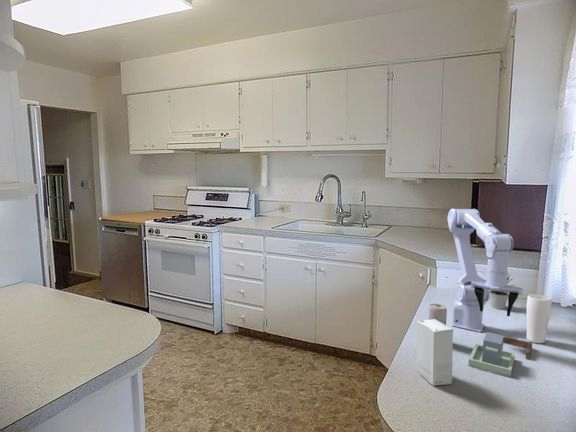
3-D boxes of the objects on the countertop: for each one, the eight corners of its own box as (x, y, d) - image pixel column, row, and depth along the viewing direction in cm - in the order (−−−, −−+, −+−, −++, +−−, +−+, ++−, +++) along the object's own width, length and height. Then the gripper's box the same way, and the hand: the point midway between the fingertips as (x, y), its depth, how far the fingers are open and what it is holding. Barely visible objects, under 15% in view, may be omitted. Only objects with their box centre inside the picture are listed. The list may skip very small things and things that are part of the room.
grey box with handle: (481, 364, 111) (483, 340, 110) (485, 354, 117) (486, 332, 116) (499, 368, 108) (501, 344, 107) (501, 358, 114) (503, 335, 114)
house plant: (481, 298, 172) (484, 262, 170) (517, 305, 164) (520, 267, 162) (475, 307, 161) (478, 268, 159) (513, 314, 153) (516, 274, 151)
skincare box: (452, 384, 101) (455, 329, 99) (431, 387, 99) (435, 331, 98) (433, 368, 109) (436, 317, 107) (414, 370, 107) (417, 319, 106)
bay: (484, 348, 122) (484, 342, 122) (488, 338, 130) (488, 332, 129) (530, 359, 115) (530, 353, 115) (531, 348, 123) (532, 342, 122)
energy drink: (445, 340, 128) (447, 305, 126) (444, 346, 123) (446, 310, 122) (428, 337, 130) (430, 302, 129) (426, 343, 125) (428, 307, 124)
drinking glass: (551, 346, 125) (555, 301, 123) (528, 343, 126) (532, 299, 124) (542, 337, 131) (546, 294, 130) (520, 335, 132) (524, 293, 131)
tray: (468, 365, 111) (468, 359, 110) (475, 349, 121) (476, 343, 121) (510, 377, 105) (511, 370, 104) (514, 359, 115) (515, 353, 115)
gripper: (470, 270, 124) (468, 311, 125) (522, 277, 116) (520, 321, 117) (474, 267, 130) (471, 306, 131) (524, 273, 122) (521, 315, 123)
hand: (494, 313), depth 124 cm, fingers open, 7 cm apart
